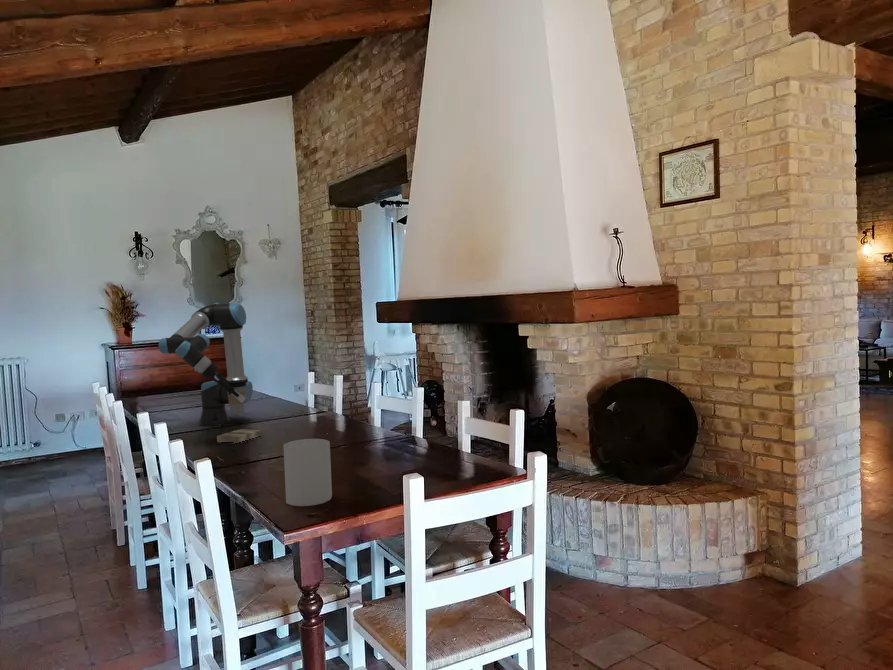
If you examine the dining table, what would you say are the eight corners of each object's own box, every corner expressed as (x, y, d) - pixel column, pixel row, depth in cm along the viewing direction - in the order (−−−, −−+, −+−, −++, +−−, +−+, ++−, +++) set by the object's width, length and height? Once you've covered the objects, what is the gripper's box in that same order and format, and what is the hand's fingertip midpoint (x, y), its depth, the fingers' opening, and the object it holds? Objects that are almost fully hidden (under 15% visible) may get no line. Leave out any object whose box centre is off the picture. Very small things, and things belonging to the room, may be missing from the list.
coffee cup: (224, 412, 305) (222, 381, 304) (243, 409, 311) (242, 379, 309) (230, 415, 297) (229, 383, 296) (250, 413, 303) (249, 381, 302)
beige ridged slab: (241, 435, 314) (240, 429, 314) (260, 436, 309) (260, 430, 309) (217, 442, 299) (216, 435, 299) (237, 443, 295) (237, 437, 294)
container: (296, 509, 196) (293, 450, 195) (278, 498, 208) (275, 443, 207) (339, 499, 204) (337, 443, 204) (320, 490, 216) (317, 436, 215)
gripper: (201, 371, 308) (238, 402, 314) (199, 376, 287) (238, 408, 293) (212, 360, 310) (249, 390, 315) (211, 363, 289) (249, 396, 294)
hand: (243, 399), depth 304 cm, fingers closed on coffee cup, 9 cm apart
